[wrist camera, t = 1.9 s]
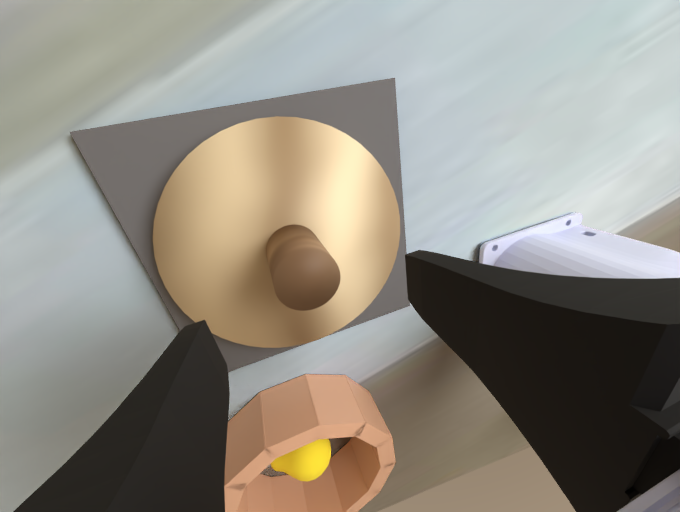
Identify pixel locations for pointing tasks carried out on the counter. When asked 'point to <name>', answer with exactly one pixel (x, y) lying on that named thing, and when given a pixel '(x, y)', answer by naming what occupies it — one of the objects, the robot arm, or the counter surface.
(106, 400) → the counter surface
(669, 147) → the counter surface
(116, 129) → the mat
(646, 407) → the robot arm
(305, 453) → the light bulb
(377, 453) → the ring
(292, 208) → the lid
